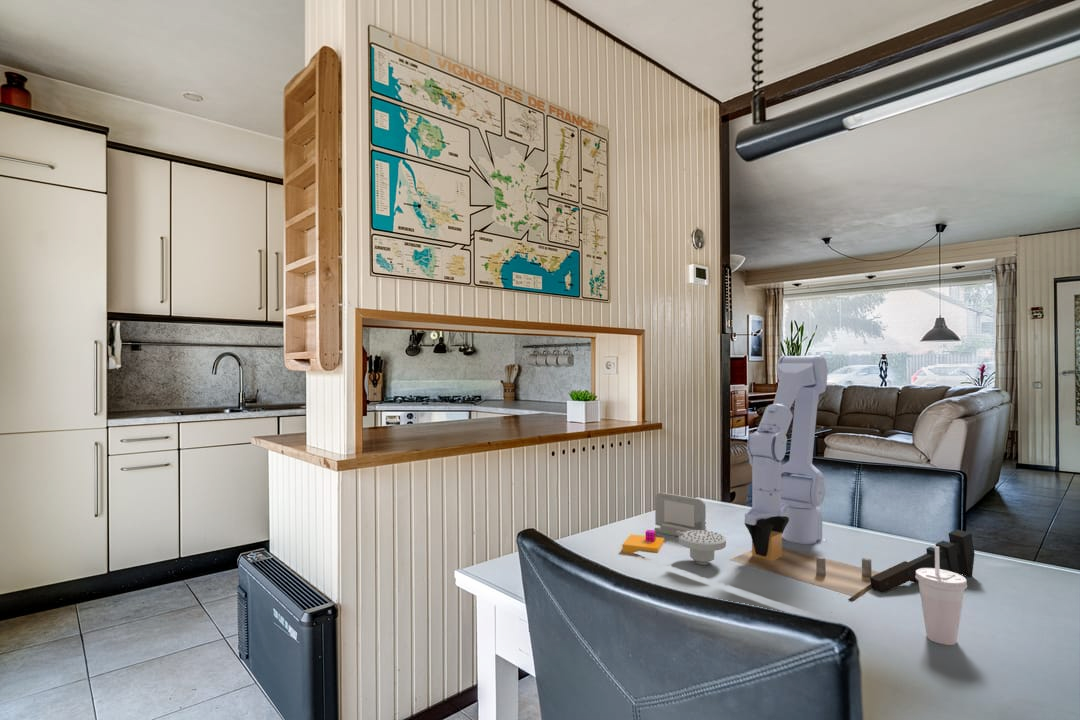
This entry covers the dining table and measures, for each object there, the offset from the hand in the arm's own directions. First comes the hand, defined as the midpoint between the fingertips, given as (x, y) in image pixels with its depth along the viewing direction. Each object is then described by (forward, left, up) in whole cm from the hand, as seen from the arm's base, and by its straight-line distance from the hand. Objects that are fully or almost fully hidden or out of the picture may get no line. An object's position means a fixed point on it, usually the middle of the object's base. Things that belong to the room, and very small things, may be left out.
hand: (767, 552), depth 118 cm
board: (0, +8, -2) cm, 8 cm away
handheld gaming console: (-4, -23, -2) cm, 23 cm away
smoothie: (+12, +34, -2) cm, 36 cm away
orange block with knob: (+14, -22, -2) cm, 26 cm away
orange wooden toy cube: (0, 0, -1) cm, 1 cm away
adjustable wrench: (-12, +25, -2) cm, 28 cm away
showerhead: (+14, -7, -2) cm, 16 cm away
